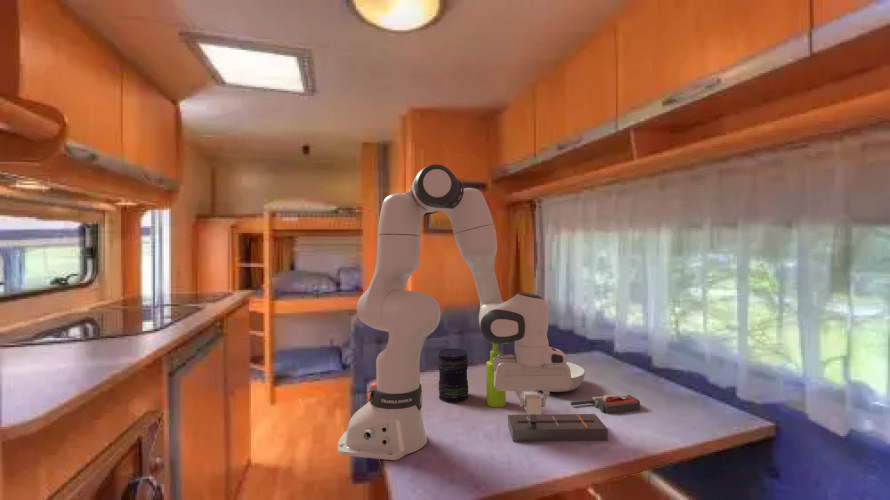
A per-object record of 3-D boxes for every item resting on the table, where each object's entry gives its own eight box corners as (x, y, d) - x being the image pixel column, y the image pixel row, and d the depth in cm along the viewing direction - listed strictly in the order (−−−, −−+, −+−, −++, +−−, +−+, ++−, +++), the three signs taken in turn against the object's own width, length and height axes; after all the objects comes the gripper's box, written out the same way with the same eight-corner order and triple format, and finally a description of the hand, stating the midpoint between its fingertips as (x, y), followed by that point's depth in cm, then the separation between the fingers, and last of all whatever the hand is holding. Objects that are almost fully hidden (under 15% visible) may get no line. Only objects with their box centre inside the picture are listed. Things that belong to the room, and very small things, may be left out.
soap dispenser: (508, 408, 123) (507, 343, 123) (486, 406, 124) (484, 342, 124) (509, 400, 129) (508, 338, 128) (487, 399, 130) (486, 338, 130)
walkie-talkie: (626, 400, 128) (569, 406, 124) (626, 386, 128) (568, 392, 124) (645, 411, 119) (584, 418, 115) (645, 396, 119) (584, 403, 115)
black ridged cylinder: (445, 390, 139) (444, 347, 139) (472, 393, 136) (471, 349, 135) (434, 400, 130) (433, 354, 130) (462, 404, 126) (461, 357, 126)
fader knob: (527, 424, 104) (527, 399, 104) (524, 416, 109) (523, 392, 109) (541, 424, 104) (541, 398, 104) (537, 416, 109) (537, 391, 109)
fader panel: (512, 441, 102) (512, 429, 102) (507, 425, 111) (507, 414, 111) (607, 440, 101) (607, 428, 101) (595, 424, 110) (594, 413, 110)
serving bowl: (523, 397, 132) (523, 376, 132) (522, 377, 152) (522, 359, 152) (590, 400, 128) (589, 379, 128) (580, 379, 148) (579, 360, 148)
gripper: (493, 357, 103) (494, 411, 103) (573, 356, 103) (574, 410, 103) (491, 351, 109) (492, 401, 110) (566, 350, 109) (567, 401, 109)
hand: (532, 406), depth 106 cm, fingers closed on fader knob, 4 cm apart
